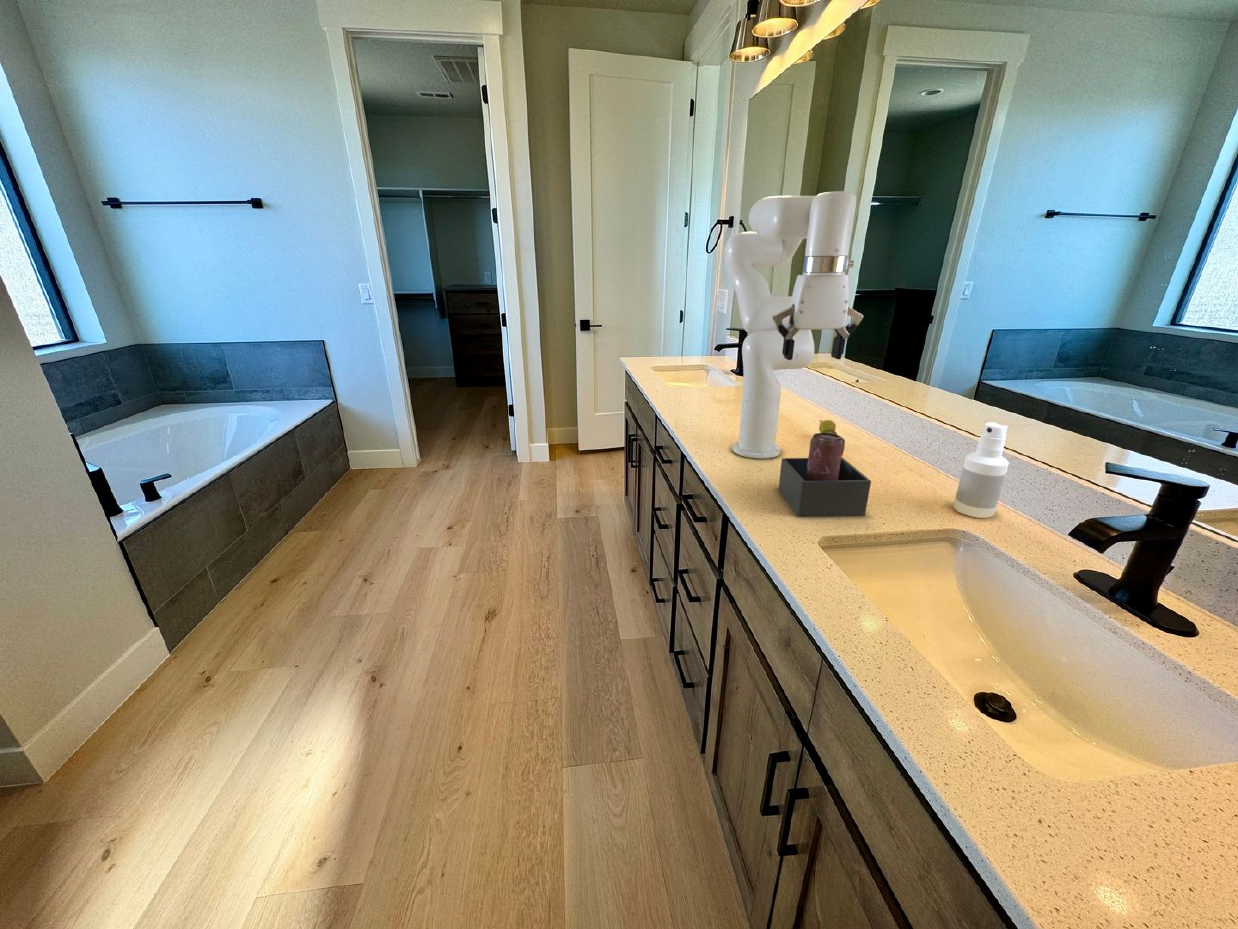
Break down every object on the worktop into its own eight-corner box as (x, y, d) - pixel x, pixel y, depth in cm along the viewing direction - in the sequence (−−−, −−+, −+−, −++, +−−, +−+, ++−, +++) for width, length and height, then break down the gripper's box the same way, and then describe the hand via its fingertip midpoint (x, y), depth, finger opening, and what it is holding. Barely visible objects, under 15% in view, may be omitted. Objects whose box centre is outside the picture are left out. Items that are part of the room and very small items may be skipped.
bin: (778, 489, 110) (781, 458, 107) (837, 488, 110) (842, 457, 107) (798, 516, 97) (802, 481, 95) (864, 515, 97) (871, 481, 95)
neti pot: (825, 436, 145) (828, 414, 143) (846, 453, 131) (850, 429, 129) (810, 436, 145) (813, 414, 143) (830, 453, 131) (833, 429, 129)
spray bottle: (945, 506, 100) (966, 422, 94) (968, 501, 103) (990, 418, 96) (978, 521, 94) (1003, 431, 88) (1002, 515, 97) (1028, 427, 90)
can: (838, 507, 100) (848, 441, 95) (805, 504, 101) (814, 440, 96) (832, 494, 105) (842, 432, 100) (801, 492, 107) (809, 431, 102)
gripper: (861, 266, 96) (846, 354, 102) (772, 267, 96) (763, 355, 102) (880, 266, 89) (863, 361, 95) (785, 267, 89) (774, 362, 95)
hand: (811, 358), depth 99 cm, fingers open, 9 cm apart
